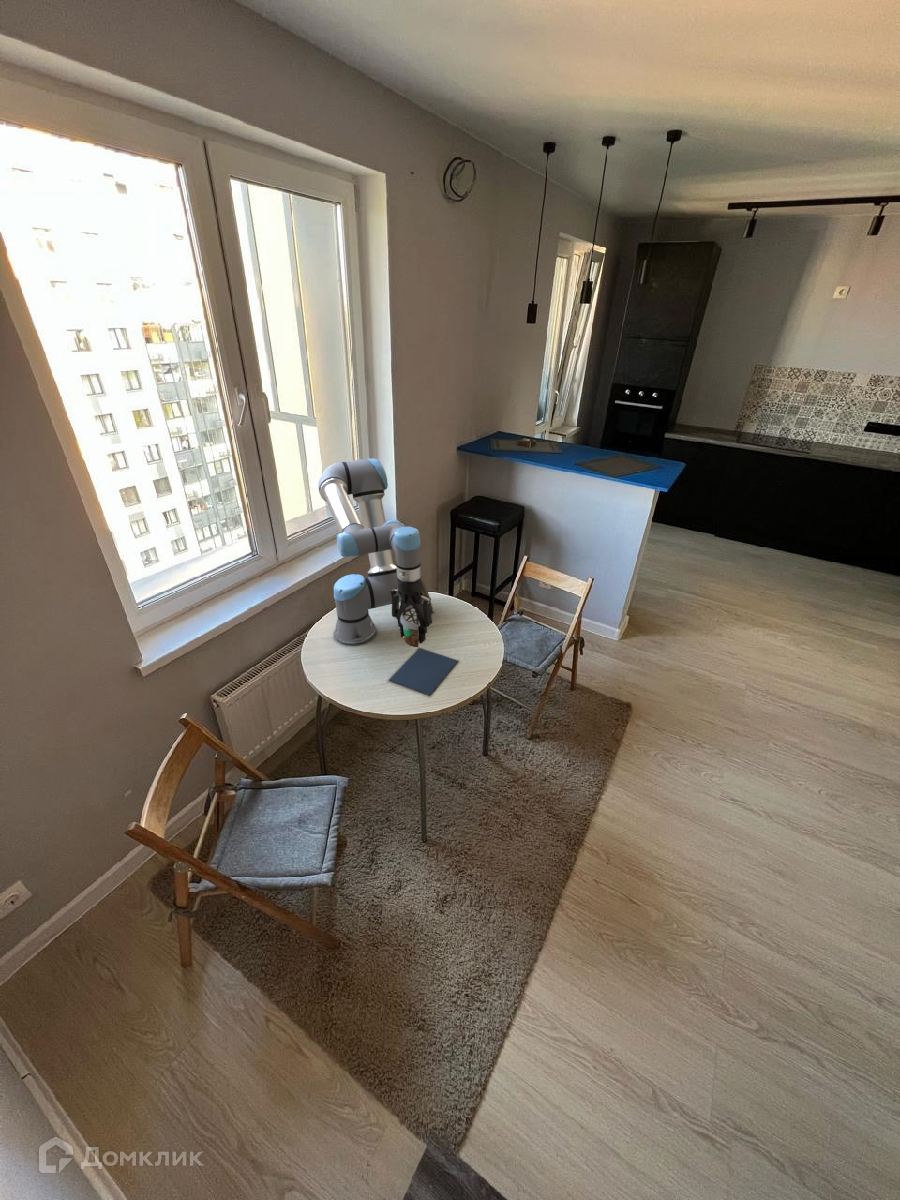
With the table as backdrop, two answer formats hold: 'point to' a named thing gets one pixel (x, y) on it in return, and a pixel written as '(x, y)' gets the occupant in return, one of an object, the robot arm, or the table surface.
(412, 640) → the food container
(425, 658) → the mat
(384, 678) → the table surface
